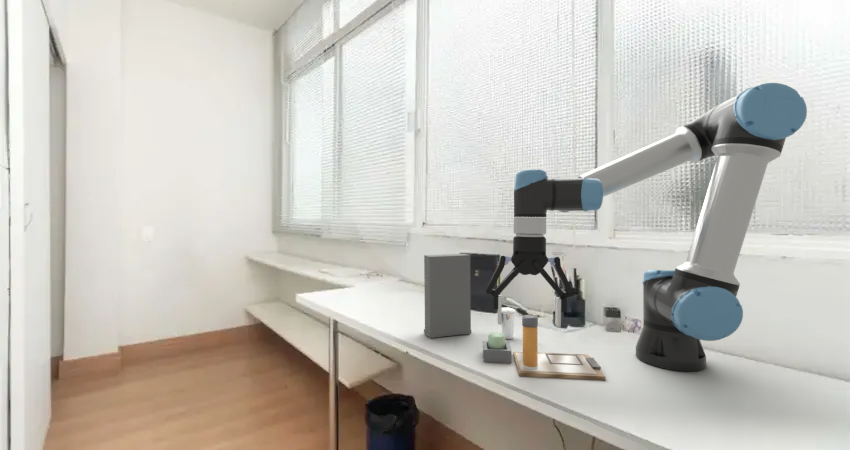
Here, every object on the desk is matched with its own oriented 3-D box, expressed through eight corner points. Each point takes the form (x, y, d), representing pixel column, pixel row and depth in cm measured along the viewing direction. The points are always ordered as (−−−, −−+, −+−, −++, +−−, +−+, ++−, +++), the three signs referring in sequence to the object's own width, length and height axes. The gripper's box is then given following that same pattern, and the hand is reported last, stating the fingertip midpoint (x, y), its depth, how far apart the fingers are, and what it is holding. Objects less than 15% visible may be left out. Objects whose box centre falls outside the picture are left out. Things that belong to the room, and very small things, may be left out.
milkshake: (518, 340, 114) (518, 307, 114) (500, 339, 115) (499, 306, 115) (517, 335, 119) (517, 303, 118) (500, 334, 120) (500, 303, 119)
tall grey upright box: (463, 328, 127) (462, 253, 126) (471, 334, 121) (470, 255, 120) (423, 333, 122) (422, 255, 122) (429, 339, 116) (429, 256, 116)
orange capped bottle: (536, 364, 93) (536, 315, 93) (539, 370, 90) (538, 319, 89) (521, 363, 94) (521, 314, 93) (523, 369, 90) (523, 318, 90)
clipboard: (588, 357, 100) (588, 352, 100) (606, 380, 86) (606, 373, 86) (513, 354, 102) (513, 349, 102) (518, 375, 89) (518, 370, 89)
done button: (504, 347, 102) (504, 333, 102) (505, 353, 98) (505, 338, 98) (488, 347, 103) (487, 332, 103) (488, 353, 99) (488, 337, 99)
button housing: (509, 353, 104) (509, 342, 104) (511, 362, 97) (511, 351, 97) (483, 352, 105) (483, 341, 105) (483, 361, 98) (483, 349, 98)
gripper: (580, 235, 93) (578, 322, 94) (476, 234, 97) (475, 317, 97) (589, 237, 86) (587, 331, 86) (476, 235, 89) (475, 326, 90)
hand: (528, 324), depth 92 cm, fingers open, 13 cm apart
